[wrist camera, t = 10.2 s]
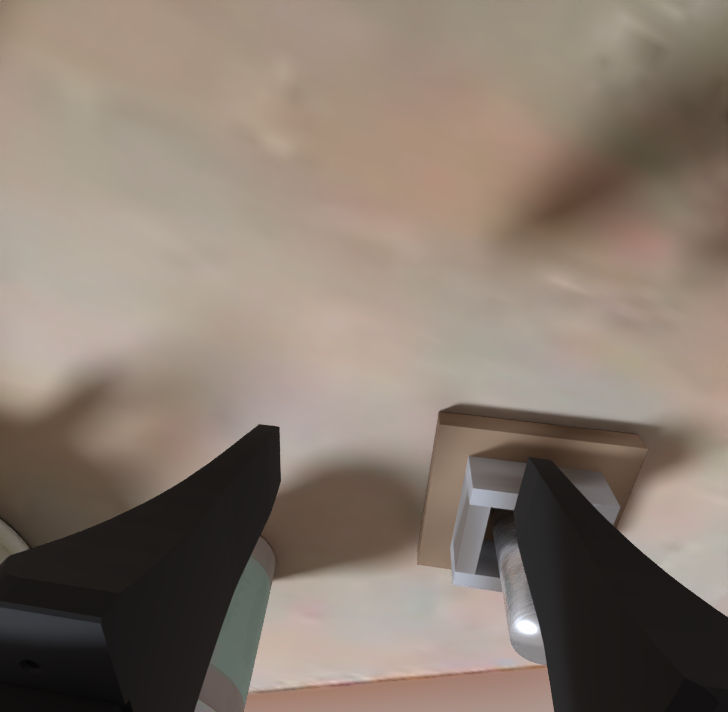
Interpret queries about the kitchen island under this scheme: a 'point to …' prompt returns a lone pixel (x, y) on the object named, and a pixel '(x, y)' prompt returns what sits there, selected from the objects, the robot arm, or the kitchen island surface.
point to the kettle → (10, 542)
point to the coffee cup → (239, 637)
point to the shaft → (516, 589)
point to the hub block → (510, 484)
